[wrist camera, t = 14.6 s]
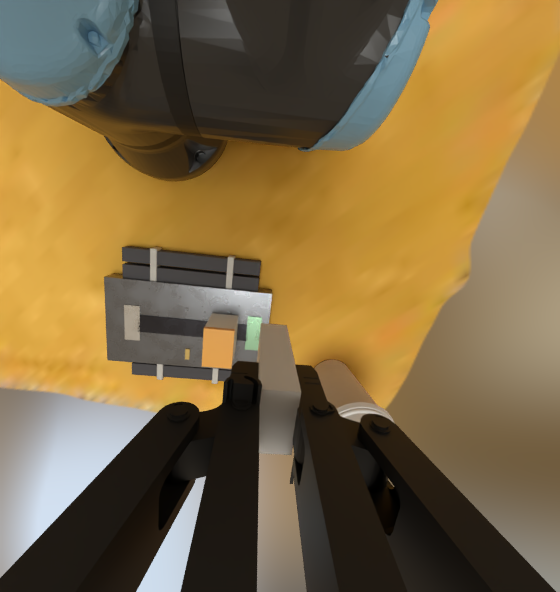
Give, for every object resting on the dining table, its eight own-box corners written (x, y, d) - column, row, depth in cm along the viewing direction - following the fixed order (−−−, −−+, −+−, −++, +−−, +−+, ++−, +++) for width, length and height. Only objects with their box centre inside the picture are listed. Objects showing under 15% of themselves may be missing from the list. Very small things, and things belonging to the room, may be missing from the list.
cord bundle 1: (128, 243, 38) (121, 245, 36) (261, 258, 39) (260, 260, 37) (129, 277, 39) (122, 280, 37) (257, 290, 40) (257, 293, 39)
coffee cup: (306, 408, 46) (325, 494, 32) (295, 357, 44) (312, 424, 29) (362, 396, 46) (407, 477, 32) (355, 345, 44) (401, 406, 29)
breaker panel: (114, 273, 39) (103, 277, 36) (271, 289, 41) (272, 294, 38) (116, 352, 42) (106, 360, 39) (263, 363, 44) (263, 372, 41)
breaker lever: (212, 313, 38) (203, 328, 33) (238, 315, 38) (234, 331, 33) (210, 346, 39) (201, 366, 34) (235, 348, 40) (231, 368, 34)
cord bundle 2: (137, 354, 42) (131, 361, 40) (243, 363, 43) (242, 370, 41) (137, 370, 43) (131, 377, 41) (242, 378, 44) (241, 385, 42)
